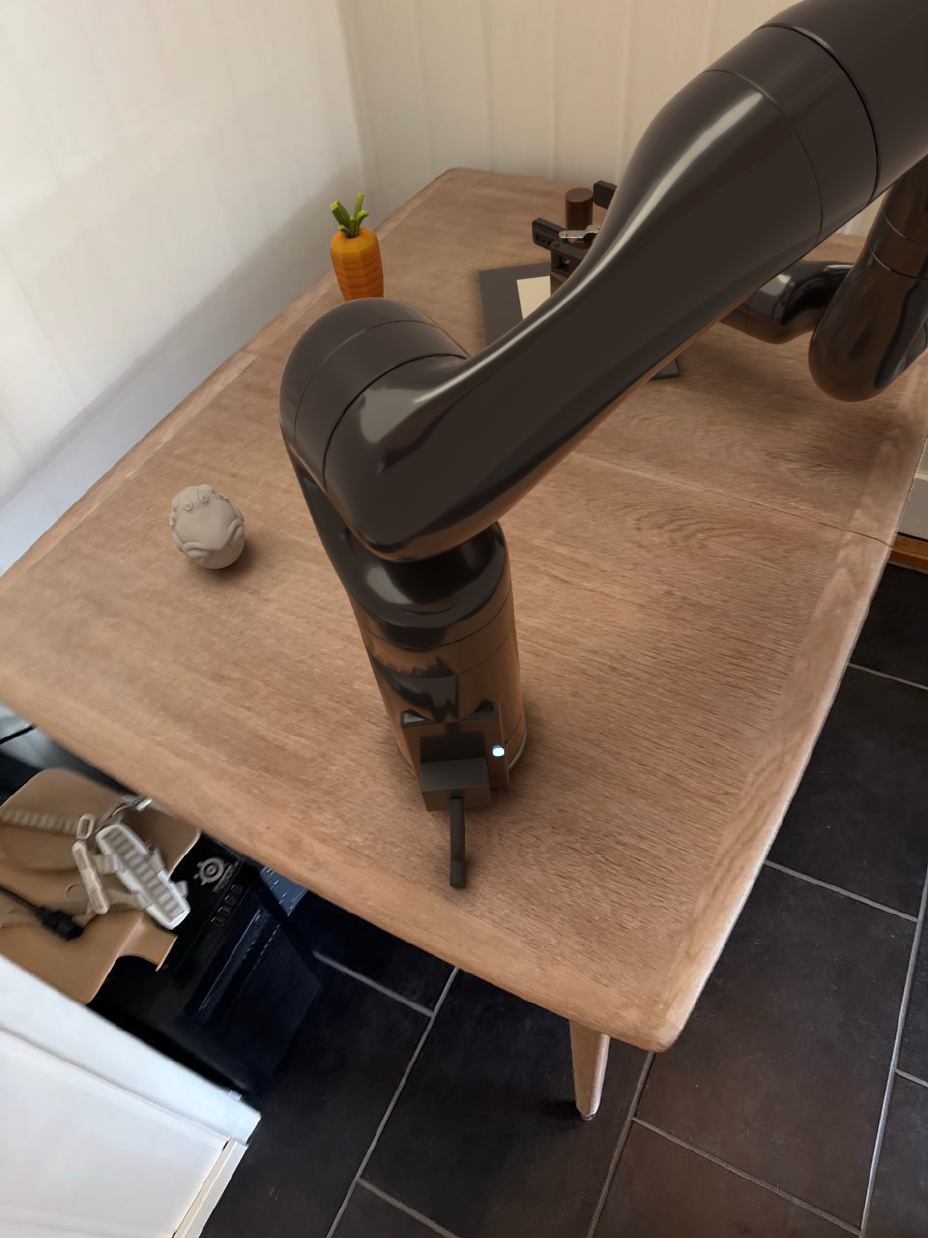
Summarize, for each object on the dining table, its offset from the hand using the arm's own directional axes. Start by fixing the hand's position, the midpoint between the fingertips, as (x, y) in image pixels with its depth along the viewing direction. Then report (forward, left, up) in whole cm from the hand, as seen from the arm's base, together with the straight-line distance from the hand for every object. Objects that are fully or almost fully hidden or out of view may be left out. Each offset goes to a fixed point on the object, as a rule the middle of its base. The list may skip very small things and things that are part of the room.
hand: (565, 209), depth 85 cm
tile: (-2, 0, -11) cm, 11 cm away
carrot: (0, +21, -11) cm, 24 cm away
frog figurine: (-30, +34, -11) cm, 47 cm away
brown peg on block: (-2, -1, -10) cm, 10 cm away
